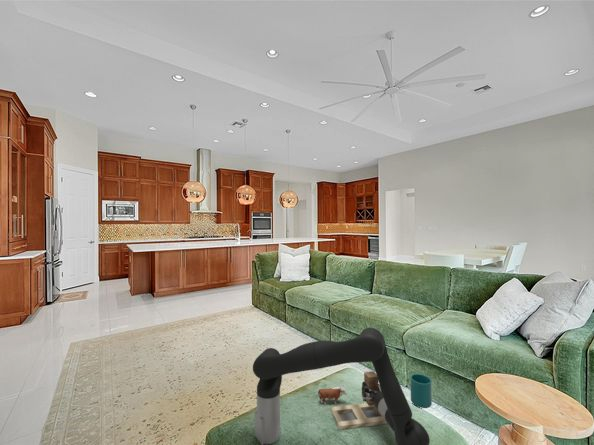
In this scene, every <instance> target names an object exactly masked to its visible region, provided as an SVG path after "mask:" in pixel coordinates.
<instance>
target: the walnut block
mask: <svg viewBox="0 0 594 445" xmlns="http://www.w3.org/2000/svg"><path fill="white" fill-rule="evenodd" d="M363 376H364V377H363V378H364V379H363V380H364V381H363V382H365V383H366V385H367V386H368V387H369V388H372V389H374V390H378V389H379V388H378V384H379V381H378V377H377V374H376V371H375V370H374V371H365V372H364V373H363ZM367 395H368V394H367ZM365 403H367V404H368V405H369V406H373V405H374V404H373V402H372V401H370V400H368V399H366V401H365Z"/></svg>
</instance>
